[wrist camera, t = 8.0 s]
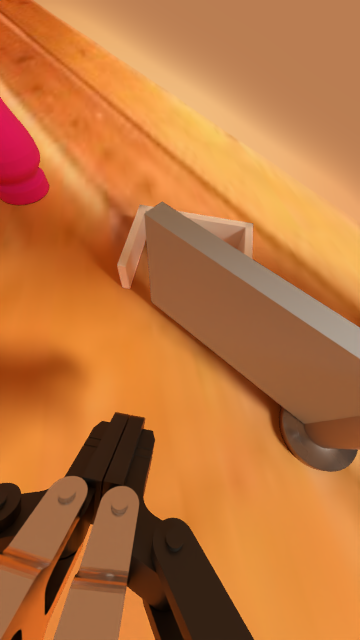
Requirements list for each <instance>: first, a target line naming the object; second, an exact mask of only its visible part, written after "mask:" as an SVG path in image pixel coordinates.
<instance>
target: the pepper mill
mask: <svg viewBox="0 0 360 640" xmlns="http://www.w3.org/2000/svg"><path fill="white" fill-rule="evenodd" d="M39 163H40V153H39V150H38V148H37V146H36V144H35V142H34V140H33V138H32V137H31V136H30V134H29V133H28V131H27V130H26V128H25V127H24V126H23V125H22V124H21V122H20V121H19V120H18V119H17V118H16V117H15V115H14V114H13V113H12V112H11V111H10V109H9V108H8V107H7V106H6V104H5V103H4V102H3V100H2V99H1V97H0V199H1V200H3V201H5V202H6V203H9V204H14V205H24V204H30V203H34V202H36V201H38V200H40V199H42V198H43V197H44V196H45V195H46V194H47V192H48V190H49V184H48V181H47V179H46V177H45V174H44V172H43V170H42V169H41V168H39V167H38V166H39Z"/></svg>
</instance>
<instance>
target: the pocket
mask: <svg viewBox="0 0 360 640" xmlns="http://www.w3.org/2000/svg"><path fill="white" fill-rule="evenodd" d="M152 208H153V207H151V206H145V205H139V208H138V211H137V213H136V216H135V219H134V221H133V224H132V227H131V229H130V232H129V235H128V237H127V240H126V243H125V245H124V248H123V251H122V253H121V256H120V259H119V261H118V264H117V268H118V272H119V275H120V279H121V283H122V287H123V288H128V289H130V287H131V284H132V281H133V278H134V275H135V272H136V269H137V266H138V262H139V259H140V256H141V253H142V250H143V247H144V244H145V241H146V230H145V218H144V213H146V212H147V211H149V210H150V209H152ZM178 212H179V213H181V214H182V215H184V216H186V217H187V218H189V219H190V220H192V221H193V222H195V223H197V224H198V225H200V226H201V227H203V228H204V229H206V230H208V231H209V232H211V233H212V234H214V235H215V236H217V237H219V238H220V239H222V240H223V241H225V242H226V243H228V244H230V245H231V246H233V247H234V248H236V249H237V250H239V251H241V252H242V253H244V254H245V255H247V256H248V257H250V258H251V259H252V249H253V223H247V222H241V221H235V220H229V219H223V218H217V217H211V216H205V215H199V214H193V213H187V212H181V211H178Z"/></svg>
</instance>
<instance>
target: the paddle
mask: <svg viewBox="0 0 360 640" xmlns="http://www.w3.org/2000/svg"><path fill="white" fill-rule="evenodd" d="M144 218H145V230H146V243H147V255H148V268H149V280H150V293H151V302H152V303H153V304H155V305H156V306H157V307H158V308H160V309H161V310H162V311H163V312H165V313H166V314H167V315H168V316H170V317H171V318H172V319H173V320H175V321H176V322H177V323H178V324H180V325H181V326H182V327H183V328H185V329H186V330H187V331H188V332H190V333H191V334H192V335H193V336H195V337H196V338H197V339H198V340H200V341H201V342H202V343H203V344H205V345H206V346H207V347H208V348H210V349H211V350H212V351H213V352H215V353H216V354H217V355H218V356H220V357H221V358H222V359H223V360H225V361H226V362H227V363H228V364H230V365H231V366H232V367H233V368H235V369H236V370H237V371H238V372H240V373H241V374H242V375H243V376H245V377H246V378H247V379H248V380H250V381H251V382H252V383H253V384H255V385H256V386H257V387H258V388H260V389H261V390H262V391H263V392H265V393H266V394H267V395H268V396H270V397H271V398H272V399H273V400H275V401H276V402H277V403H278V404H280V405H281V406H282V407H283V408H285V409H286V410H287V411H288V412H290V413H291V414H292V415H293V416H295V417H296V418H297V419H298V420H300V421H301V422H302V423H303V424H304V427H305V431H306V433H307V435H308V436H309V438H310V439H311V440H312V441H313V442H314V443H315V444H316V445H318V446H320V447H322V448H326V449H360V327H358V326H357V325H355V324H353V323H352V322H350V321H349V320H347V319H346V318H344V317H342V316H341V315H339V314H338V313H336V312H335V311H333V310H332V309H330V308H328V307H327V306H325V305H324V304H322V303H321V302H319V301H317V300H316V299H314V298H313V297H311V296H310V295H308V294H306V293H305V292H303V291H302V290H300V289H299V288H297V287H295V286H294V285H292V284H291V283H289V282H288V281H286V280H284V279H283V278H281V277H280V276H278V275H277V274H275V273H273V272H272V271H270V270H269V269H267V268H266V267H264V266H262V265H261V264H259V263H258V262H256V261H255V260H253V259H251V258H250V257H248V256H247V255H245V254H244V253H242V252H241V251H239V250H237V249H236V248H234V247H233V246H231V245H230V244H228V243H226V242H225V241H223V240H222V239H220V238H219V237H217V236H215V235H214V234H212V233H211V232H209V231H208V230H206V229H204V228H203V227H201V226H200V225H198V224H197V223H195V222H193V221H192V220H190V219H189V218H187V217H186V216H184V215H182V214H181V213H179V212H178V211H176V210H175V209H173V208H171V207H170V206H168V205H167V204H165V203H164V202H161V203H159V204H158V205H156V206H155V207H153V208H152V209H150V210H149V211H147V212H146V213H144Z"/></svg>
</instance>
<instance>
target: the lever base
mask: <svg viewBox="0 0 360 640" xmlns="http://www.w3.org/2000/svg"><path fill="white" fill-rule="evenodd" d="M279 425H280V431H281V434H282V437H283V439H284V442H285V444H286V445H287V447H288V449H289V450H290V451H291V453H292V454H293V455H294V456H295V457H296V458H297V459H298V460H299V461H301V462H302V463H304V464H305V465H307V466H309V467H311V468H314V469H317V470H322V471H330V472H331V471H339V470H342V469H344V468H346V467H347V466H349V465H350V464H351V463H352V461H353V460H354V458H355V456H356V454H357V451H358V449H326V448H322V447H320V446H318V445H316V444H315V443H314V442H313V441H312V440H311V439H310V438H309V436H308V435H307V433H306V431H305V427H304V424H303V423H302V422H301V421H300V420H298V419H297V418H296V417H295V416H293V415H292V414H291V413H290V412H288V411H287V410H286V409H285V408H283V407H281V410H280V415H279Z"/></svg>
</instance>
